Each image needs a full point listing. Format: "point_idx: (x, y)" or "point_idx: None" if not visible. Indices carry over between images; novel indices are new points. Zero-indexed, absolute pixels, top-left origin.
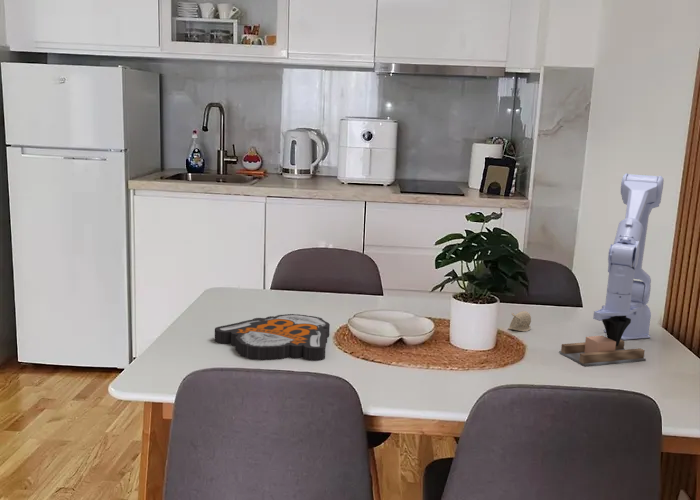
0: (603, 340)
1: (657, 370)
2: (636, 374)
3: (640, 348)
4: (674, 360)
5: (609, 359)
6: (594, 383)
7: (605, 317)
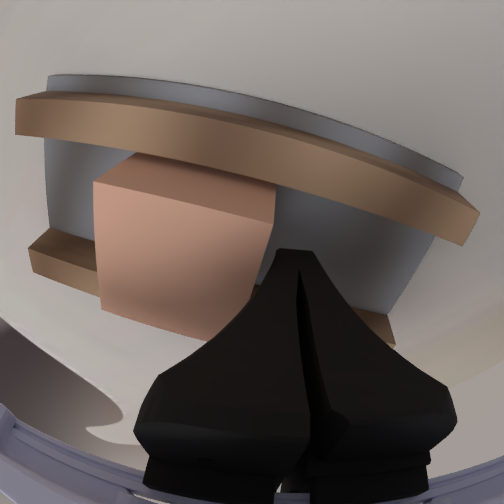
0: (166, 298)
1: None
2: None
3: (392, 346)
4: (447, 361)
5: None
6: (35, 332)
7: (81, 469)
